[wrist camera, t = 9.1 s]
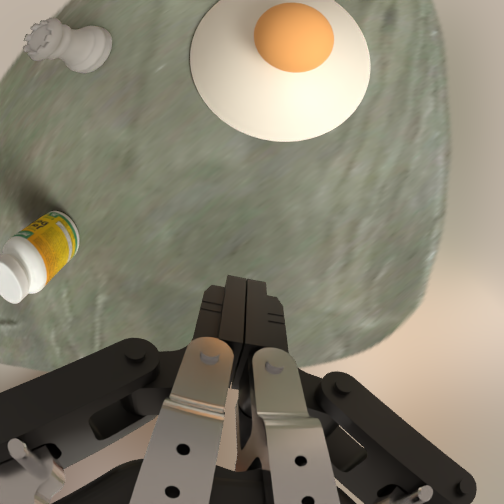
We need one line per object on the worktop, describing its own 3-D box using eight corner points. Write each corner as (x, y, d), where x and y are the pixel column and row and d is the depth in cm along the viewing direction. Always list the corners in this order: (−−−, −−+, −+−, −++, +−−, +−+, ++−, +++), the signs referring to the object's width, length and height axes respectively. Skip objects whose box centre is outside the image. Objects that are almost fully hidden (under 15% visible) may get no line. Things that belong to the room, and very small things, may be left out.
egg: (255, 37, 18) (248, 82, 18) (259, -14, 13) (251, 24, 12) (322, 47, 19) (325, 93, 18) (338, -1, 13) (347, 40, 12)
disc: (174, 122, 21) (173, 123, 21) (214, -28, 15) (214, -29, 14) (346, 161, 22) (347, 162, 22) (382, 14, 16) (383, 14, 16)
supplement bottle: (57, 262, 27) (7, 315, 18) (35, 219, 24) (-23, 263, 16) (89, 248, 26) (37, 305, 17) (66, 201, 23) (2, 244, 15)
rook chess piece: (64, 65, 18) (5, 60, 10) (89, 22, 16) (35, 3, 9) (97, 81, 19) (39, 76, 12) (124, 36, 17) (73, 13, 10)
